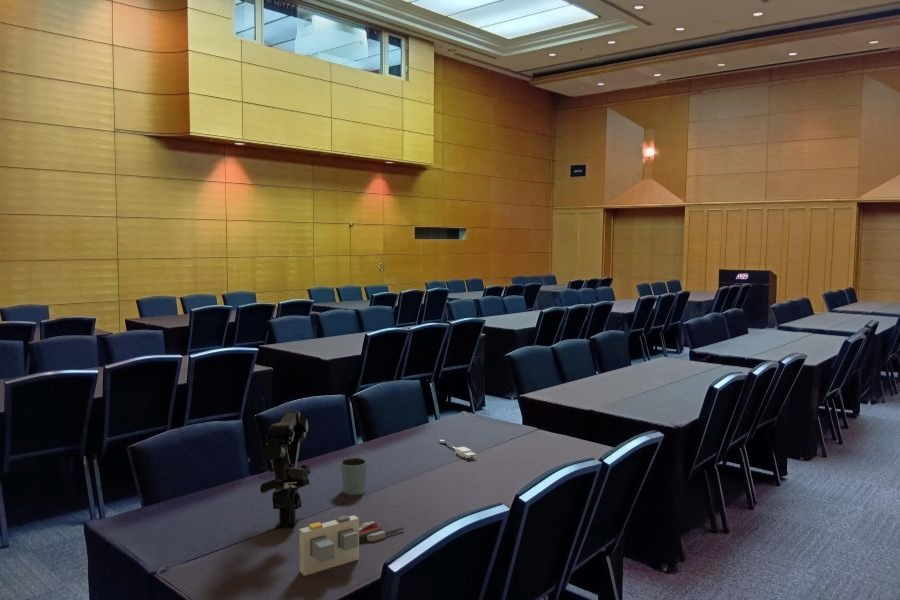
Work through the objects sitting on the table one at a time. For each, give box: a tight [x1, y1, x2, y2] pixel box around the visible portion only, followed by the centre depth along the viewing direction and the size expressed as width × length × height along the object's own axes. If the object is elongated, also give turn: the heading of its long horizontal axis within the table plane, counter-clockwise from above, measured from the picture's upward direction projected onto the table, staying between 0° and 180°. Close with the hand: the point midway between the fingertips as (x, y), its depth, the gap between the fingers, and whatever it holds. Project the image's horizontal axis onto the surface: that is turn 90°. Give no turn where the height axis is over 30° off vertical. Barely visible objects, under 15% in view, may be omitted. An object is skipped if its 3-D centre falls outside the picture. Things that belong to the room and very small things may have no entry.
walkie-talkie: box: [359, 520, 405, 544], centre depth 223 cm, size 9×4×20 cm
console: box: [299, 514, 360, 577], centre depth 202 cm, size 3×18×14 cm, turn 126°
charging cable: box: [439, 439, 477, 459], centre depth 317 cm, size 5×32×3 cm, turn 28°
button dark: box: [338, 529, 358, 551], centre depth 204 cm, size 9×4×4 cm, turn 36°
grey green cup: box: [340, 457, 367, 496], centre depth 263 cm, size 10×10×12 cm
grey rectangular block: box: [310, 536, 334, 562], centre depth 196 cm, size 9×4×4 cm, turn 36°
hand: (290, 511), depth 212 cm, fingers closed
